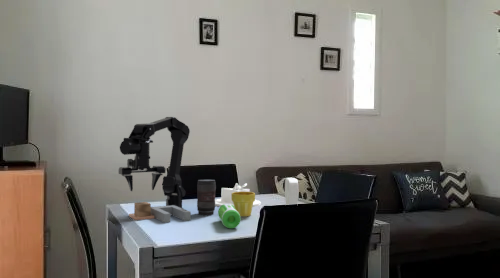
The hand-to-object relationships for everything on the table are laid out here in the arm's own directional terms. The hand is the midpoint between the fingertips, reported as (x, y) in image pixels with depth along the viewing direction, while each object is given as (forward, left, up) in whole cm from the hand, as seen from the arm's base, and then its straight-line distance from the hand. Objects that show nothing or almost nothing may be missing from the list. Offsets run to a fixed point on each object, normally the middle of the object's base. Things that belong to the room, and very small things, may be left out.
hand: (142, 190), depth 192 cm
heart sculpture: (-49, +40, -11) cm, 64 cm away
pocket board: (-9, +8, -11) cm, 16 cm away
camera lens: (-27, +7, -11) cm, 30 cm away
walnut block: (+1, +2, -10) cm, 10 cm away
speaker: (-25, +31, -11) cm, 41 cm away
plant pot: (-40, +17, -11) cm, 45 cm away
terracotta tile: (+1, +2, -11) cm, 11 cm away
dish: (-53, -12, -12) cm, 56 cm away
